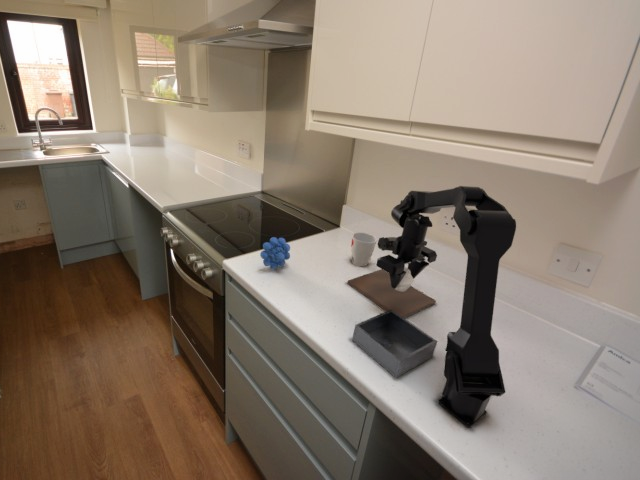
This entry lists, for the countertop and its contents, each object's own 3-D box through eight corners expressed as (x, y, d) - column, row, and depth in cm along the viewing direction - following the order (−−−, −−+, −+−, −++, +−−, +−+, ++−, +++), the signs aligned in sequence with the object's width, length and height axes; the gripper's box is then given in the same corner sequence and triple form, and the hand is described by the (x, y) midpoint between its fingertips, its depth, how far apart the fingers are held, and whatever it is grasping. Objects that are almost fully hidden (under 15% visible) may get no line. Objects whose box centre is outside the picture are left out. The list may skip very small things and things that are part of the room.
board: (435, 304, 100) (436, 300, 100) (399, 320, 93) (400, 316, 92) (381, 272, 116) (381, 269, 116) (347, 283, 108) (347, 280, 108)
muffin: (383, 284, 100) (388, 263, 97) (400, 281, 102) (405, 261, 99) (398, 296, 95) (404, 274, 92) (415, 292, 97) (421, 271, 94)
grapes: (266, 279, 108) (268, 245, 104) (255, 269, 114) (257, 236, 109) (295, 271, 114) (299, 238, 109) (284, 261, 119) (287, 230, 114)
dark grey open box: (432, 356, 81) (437, 341, 79) (396, 378, 74) (400, 361, 72) (387, 323, 91) (391, 309, 89) (351, 340, 85) (355, 324, 83)
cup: (353, 254, 127) (358, 230, 123) (374, 262, 122) (380, 237, 118) (344, 262, 121) (348, 237, 117) (365, 271, 116) (371, 245, 112)
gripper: (409, 220, 102) (398, 265, 109) (366, 230, 93) (356, 279, 99) (444, 234, 94) (430, 282, 100) (400, 247, 85) (387, 299, 91)
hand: (400, 285), depth 98 cm, fingers closed on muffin, 6 cm apart
